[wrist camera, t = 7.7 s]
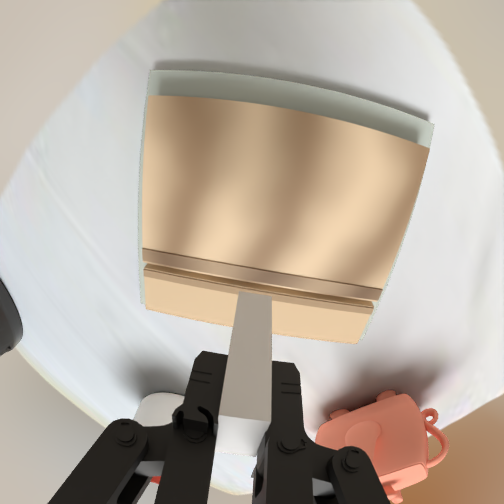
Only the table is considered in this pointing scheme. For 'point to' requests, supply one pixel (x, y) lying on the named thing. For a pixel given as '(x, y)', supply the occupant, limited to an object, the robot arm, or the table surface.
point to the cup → (157, 412)
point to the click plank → (275, 195)
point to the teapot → (388, 439)
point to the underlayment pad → (283, 300)
